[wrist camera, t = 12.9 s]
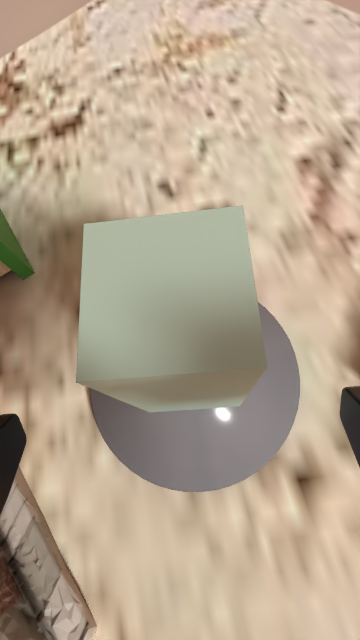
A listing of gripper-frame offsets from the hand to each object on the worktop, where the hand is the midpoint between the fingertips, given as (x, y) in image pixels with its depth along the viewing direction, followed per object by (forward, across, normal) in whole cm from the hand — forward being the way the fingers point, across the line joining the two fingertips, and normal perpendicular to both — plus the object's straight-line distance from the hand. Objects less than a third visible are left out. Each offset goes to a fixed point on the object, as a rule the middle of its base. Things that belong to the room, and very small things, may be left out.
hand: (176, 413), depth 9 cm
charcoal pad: (+9, 0, +5) cm, 11 cm away
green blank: (+9, 0, +4) cm, 10 cm away
